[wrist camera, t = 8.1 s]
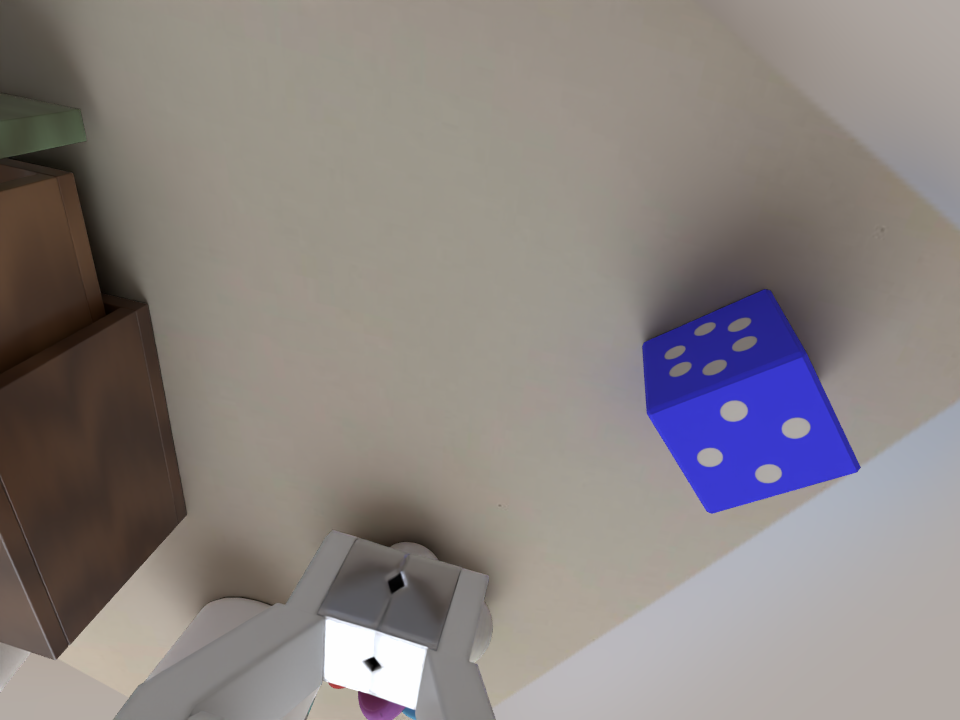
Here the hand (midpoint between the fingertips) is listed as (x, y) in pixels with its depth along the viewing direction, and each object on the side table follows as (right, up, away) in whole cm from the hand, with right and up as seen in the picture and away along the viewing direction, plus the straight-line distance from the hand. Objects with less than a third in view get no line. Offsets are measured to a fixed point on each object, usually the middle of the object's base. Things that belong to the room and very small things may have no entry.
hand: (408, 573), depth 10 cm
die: (+11, +4, +12) cm, 17 cm away
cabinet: (-22, +2, +21) cm, 31 cm away
